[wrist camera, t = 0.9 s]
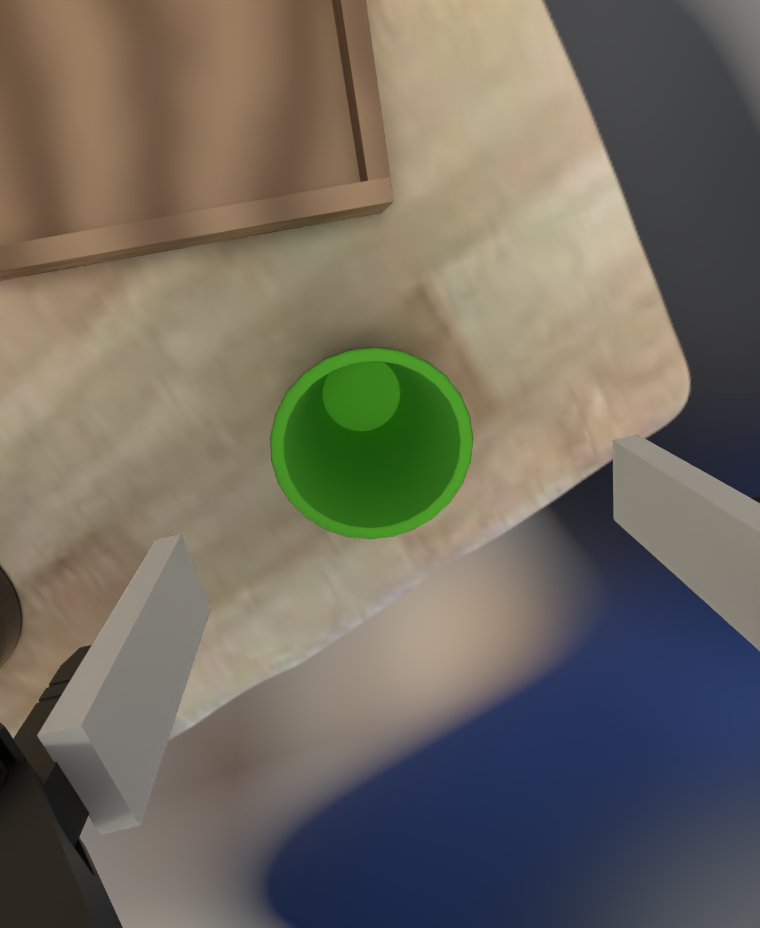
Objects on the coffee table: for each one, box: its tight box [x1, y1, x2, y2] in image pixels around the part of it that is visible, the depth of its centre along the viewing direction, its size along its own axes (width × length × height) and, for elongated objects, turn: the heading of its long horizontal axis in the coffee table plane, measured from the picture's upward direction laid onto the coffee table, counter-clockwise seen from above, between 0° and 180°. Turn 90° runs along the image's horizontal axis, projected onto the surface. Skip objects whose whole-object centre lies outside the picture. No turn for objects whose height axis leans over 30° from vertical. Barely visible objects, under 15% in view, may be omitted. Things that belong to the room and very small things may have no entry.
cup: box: [270, 347, 473, 539], centre depth 27 cm, size 9×9×11 cm
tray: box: [0, 0, 393, 280], centre depth 23 cm, size 22×14×6 cm, turn 99°
